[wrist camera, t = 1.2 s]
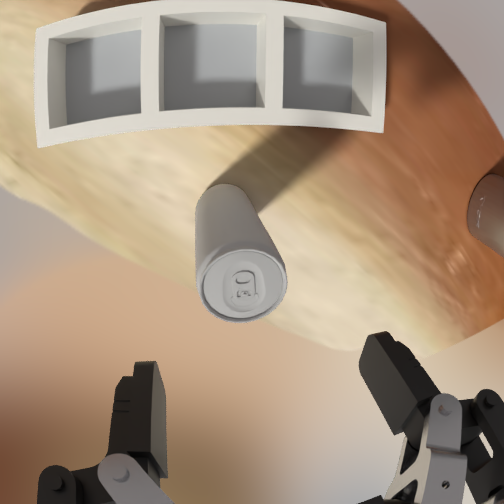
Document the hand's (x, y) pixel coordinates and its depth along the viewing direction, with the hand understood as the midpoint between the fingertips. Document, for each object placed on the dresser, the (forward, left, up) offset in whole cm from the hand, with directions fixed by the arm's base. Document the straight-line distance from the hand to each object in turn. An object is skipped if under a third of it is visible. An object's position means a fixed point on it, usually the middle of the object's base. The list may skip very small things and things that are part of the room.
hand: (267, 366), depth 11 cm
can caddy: (+1, -12, -17) cm, 21 cm away
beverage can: (0, 0, -18) cm, 18 cm away
